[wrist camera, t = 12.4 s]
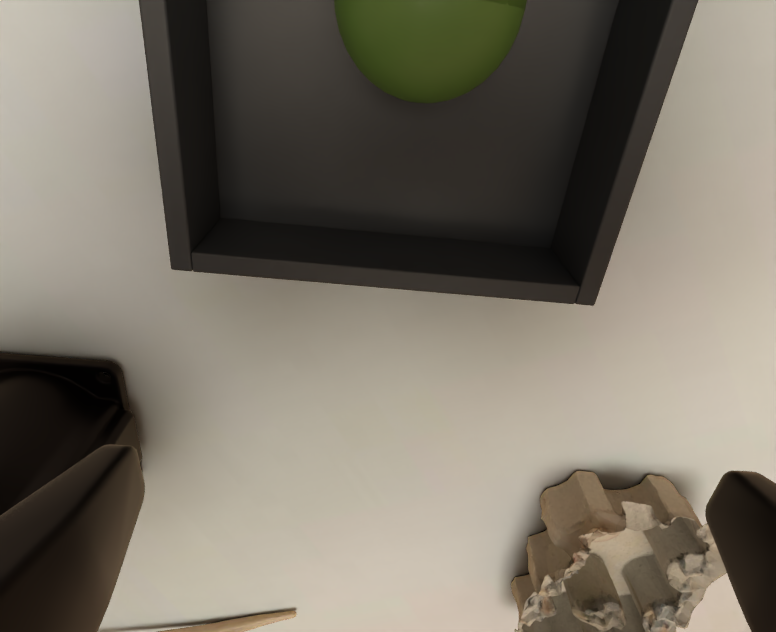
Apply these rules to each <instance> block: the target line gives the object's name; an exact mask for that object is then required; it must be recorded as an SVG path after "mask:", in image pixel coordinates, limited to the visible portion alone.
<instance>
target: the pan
mask: <svg viewBox="0 0 776 632" xmlns="http://www.w3.org/2000/svg"><path fill="white" fill-rule="evenodd" d="M697 3H698V0H527V3H526V8H525V12H524V15H523V19H522V22H521V26H520V29H519V32H518V35H517V37H516V39H515V41H514V43H513V45H512V47H511V49H510V51H509V53H508V54H507V56H506V57H505V58H504V60H503V61H502V63H501V64H500V65H499V67H498V68H497V69H496V70H495V71H494V72H493V73H492V74H491V75H490V76H489V77H488V78H487V79H486V80H485V81H484V82H483V83H481V84H480V85H478V86H477V87H475V88H474V89H472V90H471V91H469V92H468V93H466V94H463V95H461V96H459V97H456V98H454V99H451V100H448V101H442V102H437V103H416V102H409V101H404V100H401V99H399V98H396V97H394V96H392V95H390V94H387V93H385V92H384V91H382V90H381V89H380V88H378V87H377V86H375V85H374V84H373V83H371V82H370V81H369V80H368V79H367V78H366V77H365V76H364V75H363V73H362V72H361V71H360V70H359V69H358V68H357V66H356V65H355V63H354V62H353V60H352V58H351V57H350V55H349V54H348V52H347V50H346V48H345V45H344V43H343V40H342V38H341V35H340V33H339V28H338V24H337V19H336V14H335V5H334V0H139V5H140V13H141V21H142V30H143V38H144V46H145V55H146V63H147V71H148V80H149V88H150V96H151V105H152V113H153V121H154V129H155V138H156V146H157V154H158V163H159V171H160V179H161V188H162V196H163V204H164V213H165V221H166V229H167V238H168V246H169V254H170V262H171V269H173V270H183V271H192V270H193V271H194V272H204V273H216V274H228V275H240V276H251V277H263V278H275V279H286V280H298V281H310V282H321V283H333V284H345V285H357V286H368V287H380V288H392V289H403V290H415V291H427V292H438V293H450V294H462V295H474V296H485V297H497V298H509V299H520V300H532V301H544V302H556V303H567V304H574V303H576V304H581V305H594V304H595V302H596V299H597V296H598V293H599V290H600V287H601V284H602V281H603V278H604V275H605V272H606V269H607V267H608V264H609V261H610V258H611V255H612V252H613V249H614V246H615V243H616V240H617V237H618V234H619V231H620V228H621V225H622V223H623V220H624V217H625V214H626V211H627V208H628V205H629V202H630V199H631V196H632V193H633V190H634V187H635V184H636V181H637V179H638V176H639V173H640V170H641V167H642V164H643V161H644V158H645V155H646V152H647V149H648V146H649V143H650V140H651V137H652V135H653V132H654V129H655V126H656V123H657V120H658V117H659V114H660V111H661V108H662V105H663V102H664V99H665V96H666V93H667V91H668V88H669V85H670V82H671V79H672V76H673V73H674V70H675V67H676V64H677V61H678V58H679V55H680V52H681V49H682V47H683V44H684V41H685V38H686V35H687V32H688V29H689V26H690V23H691V20H692V17H693V14H694V11H695V8H696V5H697Z"/></svg>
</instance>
